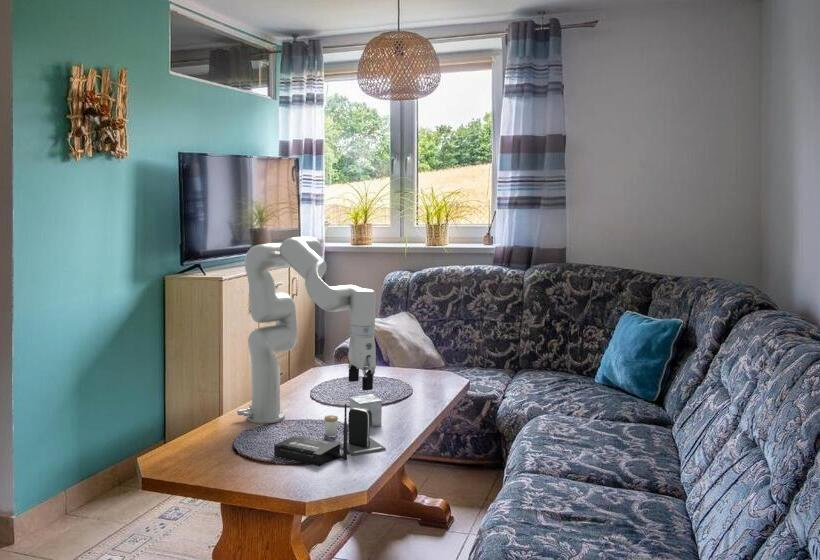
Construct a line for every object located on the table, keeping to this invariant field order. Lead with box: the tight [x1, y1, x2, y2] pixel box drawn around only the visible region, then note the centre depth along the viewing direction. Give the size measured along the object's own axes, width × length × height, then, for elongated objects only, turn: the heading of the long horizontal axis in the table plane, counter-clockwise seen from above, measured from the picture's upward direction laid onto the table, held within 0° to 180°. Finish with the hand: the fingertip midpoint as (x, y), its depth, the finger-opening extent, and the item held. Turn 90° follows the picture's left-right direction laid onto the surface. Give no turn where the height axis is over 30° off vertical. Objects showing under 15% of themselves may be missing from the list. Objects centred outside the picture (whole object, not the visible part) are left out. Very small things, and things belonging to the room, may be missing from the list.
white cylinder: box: [324, 414, 339, 436], centre depth 228 cm, size 4×4×6 cm
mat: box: [336, 436, 387, 457], centre depth 218 cm, size 11×11×1 cm
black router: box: [273, 403, 348, 467], centre depth 208 cm, size 20×14×17 cm
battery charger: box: [347, 407, 372, 447], centre depth 217 cm, size 7×4×11 cm, turn 61°
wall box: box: [348, 393, 384, 428], centre depth 240 cm, size 9×9×9 cm
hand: (360, 385), depth 216 cm, fingers open, 9 cm apart
